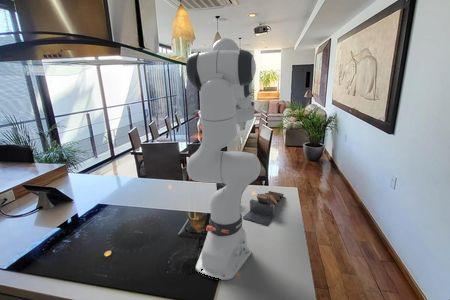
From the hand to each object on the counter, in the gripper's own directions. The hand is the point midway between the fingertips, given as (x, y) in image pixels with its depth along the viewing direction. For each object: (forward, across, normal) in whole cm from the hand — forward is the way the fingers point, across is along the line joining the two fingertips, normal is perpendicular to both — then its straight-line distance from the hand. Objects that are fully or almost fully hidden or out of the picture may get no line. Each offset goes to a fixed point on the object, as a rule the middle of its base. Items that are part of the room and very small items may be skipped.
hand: (242, 130), depth 128 cm
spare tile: (+36, -3, -19) cm, 41 cm away
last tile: (+36, -11, -19) cm, 42 cm away
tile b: (+36, +1, -19) cm, 41 cm away
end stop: (+37, -19, -19) cm, 46 cm away
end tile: (+36, +6, -19) cm, 41 cm away
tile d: (+37, -8, -19) cm, 42 cm away
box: (+37, -13, +4) cm, 40 cm away
